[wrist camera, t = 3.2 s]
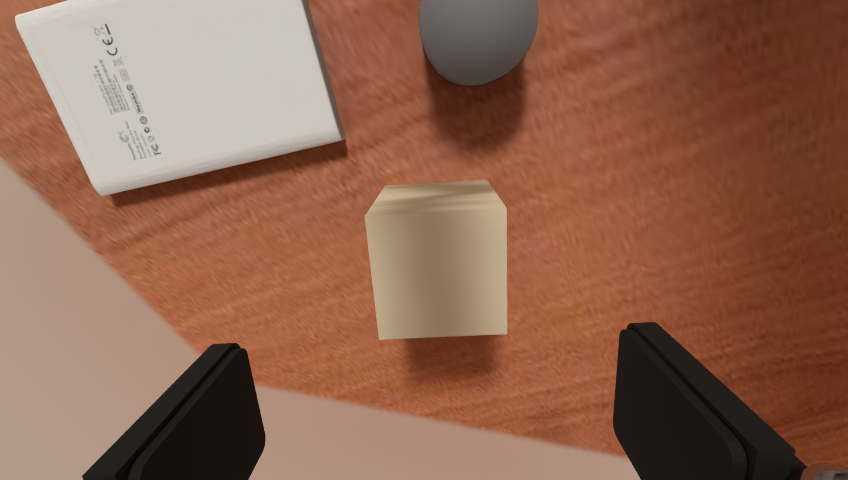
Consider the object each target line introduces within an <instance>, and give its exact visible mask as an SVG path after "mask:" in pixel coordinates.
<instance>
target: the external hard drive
mask: <svg viewBox="0 0 848 480" xmlns="http://www.w3.org/2000/svg"><path fill="white" fill-rule="evenodd" d="M15 22H16V26H17V29H18V31H19V33H20V35H21V37H22V39H23V41H24V43H25V45H26V48H27V50H28V52H29V54H30V56H31V58H32V60H33V62H34V64H35V66H36V68H37V70H38V72H39V74H40V76H41V78H42V80H43V82H44V84H45V86H46V89H47V91H48V93H49V95H50V97H51V99H52V101H53V103H54V105H55V107H56V109H57V112H58V114H59V116H60V118H61V120H62V122H63V124H64V126H65V129H66V131H67V133H68V135H69V137H70V139H71V141H72V143H73V145H74V147H75V149H76V152H77V154H78V156H79V158H80V160H81V162H82V164H83V166H84V168H85V171H86V173H87V175H88V177H89V179H90V181H91V183H92V185H93V187H94V188H95V190H96V191H97V192H98V193H99V194H100V195H101V196H105V195H110V194H114V193H118V192H122V191H127V190H132V189H136V188H140V187H145V186H149V185H153V184H157V183H162V182H166V181H171V180H175V179H179V178H184V177H188V176H193V175H197V174H201V173H206V172H210V171H214V170H218V169H223V168H227V167H231V166H236V165H240V164H244V163H249V162H253V161H257V160H262V159H266V158H270V157H275V156H279V155H283V154H287V153H292V152H296V151H300V150H304V149H308V148H313V147H317V146H321V145H326V144H330V143H334V142H338V141H342V140H345V135H344V131H343V128H342V124H341V120H340V117H339V113H338V110H337V106H336V102H335V99H334V95H333V92H332V88H331V84H330V81H329V77H328V74H327V70H326V66H325V63H324V59H323V55H322V52H321V48H320V45H319V41H318V37H317V34H316V30H315V27H314V23H313V19H312V16H311V12H310V8H309V5H308V1H307V0H67V1H64V2H61V3H57V4H54V5H51V6H47V7H44V8H41V9H37V10H33V11H30V12H26V13H23V14H19V15H17V16H15Z"/></svg>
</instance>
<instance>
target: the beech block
mask: <svg viewBox="0 0 848 480" xmlns="http://www.w3.org/2000/svg"><path fill="white" fill-rule="evenodd" d="M365 223H366V232H367V241H368V249H369V258H370V266H371V275H372V283H373V292H374V300H375V309H376V318H377V326H378V335H379V340H382V339H405V338H427V337H450V336H473V335H496V334H507V208H506V207H505V205H504V204H503V202H502V201H501V199H500V198H499V197H498V195H497V194H496V192H495V191H494V189H493V188H492V187H491V185H490V184H489V182H488V181H487V179H486V180H470V181H454V182H438V183H422V184H406V185H390V186H384V188H383V190H382V191H381V193H380V194H379V196H378V197H377V199H376V200H375V202H374V203H373V205H372V206H371V208H370V209H369V211H368V212H367V214H366V215H365Z"/></svg>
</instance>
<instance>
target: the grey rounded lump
mask: <svg viewBox="0 0 848 480" xmlns="http://www.w3.org/2000/svg"><path fill="white" fill-rule="evenodd" d="M537 23H538V4H537V0H422V1H421V5H420V12H419V27H420V34H421V38H422V43H423V47H424V51H425V54H426V56H427V59H428V60H429V62H430V64H431V65H432V67H433V68H434V69H435V71H436V72H437V73H438V74H439V75H441V76H442V77H443V78H444V79H446V80H448V81H449V82H452V83H454V84H457V85H461V86H479V85H483V84H486V83H489V82H491V81H493V80H495V79H497V78H499V77H501V76H503V75H505V74H506V73H508V72H509V71H511V70H512V69H513V68H514V67H515V66H516V65H517V64H518V63H519V62H520V61H521V60H522V59H523V57H524V56H525V55H526V53H527V51H528V50H529V48H530V46H531V44H532V41H533V39H534V36H535V33H536V28H537Z"/></svg>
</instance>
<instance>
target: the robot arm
mask: <svg viewBox="0 0 848 480" xmlns="http://www.w3.org/2000/svg"><path fill="white" fill-rule="evenodd" d="M613 426H614V431H615V434H616V436H617V439H618V440H619V442H620V444H621V446H622V447H623V449H624V451H625V452H626V454H627V456H628V458H629V459H630V461H631V463H632V465H633V466H634V468H635V470H636V471H637V473H638V475H639V477H640V479H641V480H848V467H845V466H842V465H834V464H826V463H824V464H815V465H811V466H809V467H807V466H805V465H804V464H803V463H802V462H801V461H800V460H799V459H798V458H797V457H796V456H795V455H794V454H795V449H794V448H793V447H792V446H790V445H789V444H788V443H787V442H786V441H785V440H784V439H783V438H782V437H781V436H780V435H778V434H777V433H776V432H775V431H774V430H773V429H772V428H771V427H770V426H769V425H768V424H766V423H765V422H764V421H763V420H762V419H761V418H760V417H759V416H758V415H757V414H756V413H754V412H753V411H752V410H751V409H750V408H749V407H748V406H747V405H746V404H745V403H743V402H742V401H741V400H740V399H739V398H738V397H737V396H736V395H735V394H734V393H733V392H731V391H730V390H729V389H728V388H727V387H726V386H725V385H724V384H723V383H722V382H721V381H719V380H718V379H717V378H716V377H715V376H714V375H713V374H712V373H711V372H710V371H709V370H707V369H706V368H705V367H704V366H703V365H702V364H701V363H700V362H699V361H698V360H696V359H695V358H694V357H693V356H692V355H691V354H690V353H689V352H688V351H687V350H686V349H684V348H683V347H682V346H681V345H680V344H679V343H678V342H677V341H676V340H675V339H674V338H672V337H671V336H670V335H669V334H668V333H667V332H666V331H665V330H664V329H663V328H662V327H660V326H659V325H658V324H657V323H655V322H648V323H630V324H629V325H628V326H627V328H626V330H622V331H621V332H620V336H619V349H618V362H617V375H616V388H615V401H614V414H613ZM264 446H265V432H264V427H263V423H262V418H261V414H260V409H259V404H258V400H257V395H256V391H255V386H254V381H253V377H252V372H251V368H250V363H249V359H248V354H247V351H246V350H245V349H244V348H240V346H239V345H238V344H237V343H226V344H213V345H211V346H210V347H209V348H208V349H207V350H206V351H205V352H204V353H203V354H202V355H201V356H200V357H199V358H198V359H197V360H196V361H195V362H194V363H193V364H192V365H191V366H190V367H189V368H188V369H187V370H186V371H185V372H184V373H183V374H182V375H181V376H180V377H179V378H178V379H177V380H176V381H175V382H174V384H172V385H171V386H170V387H169V388H168V389H167V390H166V391H165V392H164V393H163V394H162V395H161V397H159V399H157V401H156V402H155V403H154V404H153V405H152V406H151V407H150V408H149V409H148V410H147V411H146V412H145V413H144V414H143V415H142V416H141V417H140V418H139V419H138V420H137V421H136V422H135V423H134V424H133V425H132V426H131V427H130V428H129V429H128V430H127V431H126V432H125V433H124V434H123V435H122V436H121V437H120V438H119V439H118V440H117V441H116V442H115V443H114V444H113V445H112V446H111V447H110V448H109V449H108V450H107V451H106V452H105V453H104V455H102V456H101V457H100V458H99V459H98V460H97V461H96V462H95V463H94V465H92V467H91V468H90V469H89V470H88V471H87V472H86V473H85V474H84V475H83V476H82V477H83V480H248V479H249V477H250V475H251V473H252V471H253V469H254V467H255V465H256V464H257V462H258V460H259V458H260V456H261V454H262V452H263V449H264Z"/></svg>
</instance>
